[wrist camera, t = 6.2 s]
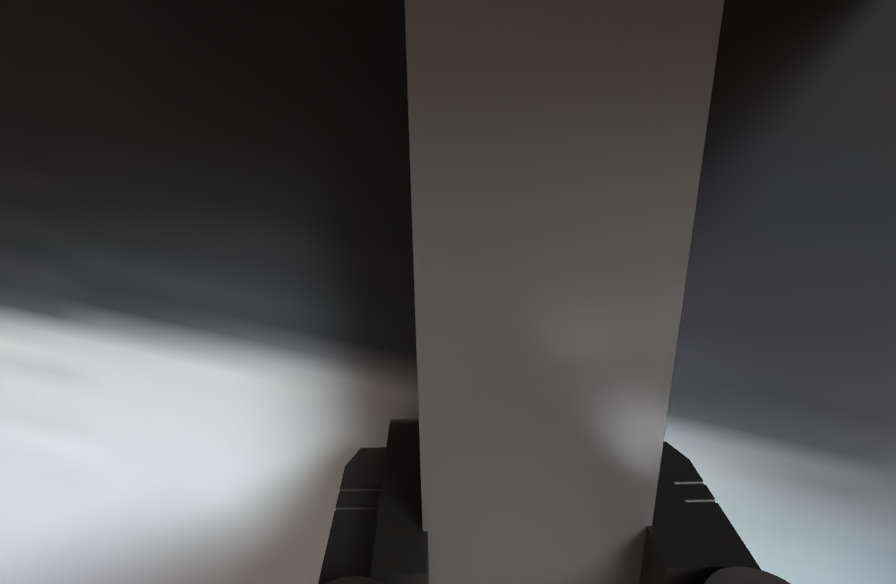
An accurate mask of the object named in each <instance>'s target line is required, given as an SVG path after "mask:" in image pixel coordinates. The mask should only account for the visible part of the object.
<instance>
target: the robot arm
mask: <svg viewBox="0 0 896 584" xmlns="http://www.w3.org/2000/svg"><path fill="white" fill-rule="evenodd" d="M318 584H429V553H428V531H423V525H422V496H421V467H420V437H419V419H391V420H390V425H389V433H388V441H387V447H383V448H361V449H360V450H359V451H358V452H357V453H356V454H355V456H354V457H353V458H352V459H351V460H350V461H349V463H348V464H347V465H346V466H345V469H344V473H343V478H342V482H341V487H340V493H339V495H338V500H337V504H336V511H335V513H334V517H333V522H332V526H331V530H330V535H329V539H328V543H327V548H326V552H325V556H324V561H323V565H322V570H321V574H320V578H319V583H318ZM639 584H790V583H788V582H787V581H785V580H783V579H781V578H779V577H777V576H775V575H773V574H770V573H768V572H765V571H762V570H761V569H760V567H759V566H758V564H757V563H756V561H755V560H754V558H753V557H752V555H751V554H750V552H749V550H748V549H747V547H746V546H745V544H744V543H743V541H742V540H741V538H740V537H739V535H738V534H737V532H736V531H735V529H734V527H733V526H732V524H731V523H730V521H729V520H728V518H727V517H726V515H725V514H724V512H723V511H722V509H721V507H720V506H719V504H718V503H715V498H714V497H713V495H712V494H711V492H710V491H709V489H708V487H707V486H706V485H704V484H703V480H702V478H701V477H700V475H699V474H698V472H697V471H696V469H695V468H694V466H693V464H692V463H691V461H690V460H689V459H688V458H687V457H685V456H684V455H683V454H681V453H680V452H679V451H677V450H676V449H675V448H674V447H672V446H671V445H670V444H668V443H667V442H663V449H662V456H661V463H660V471H659V478H658V485H657V492H656V500H655V507H654V514H653V521H652V526H647V529H646V536H645V544H644V551H643V559H642V566H641V574H640V581H639Z"/></svg>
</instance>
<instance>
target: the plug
mask: <svg viewBox="0 0 896 584" xmlns="http://www.w3.org/2000/svg"><path fill="white" fill-rule="evenodd" d="M723 7H724V0H405V30H406V59H407V88H408V117H409V146H410V175H411V204H412V234H413V263H414V292H415V321H416V350H417V379H418V408H419V437H420V467H421V496H422V525H423V531H428V553H429V584H639V581H640V574H641V566H642V559H643V551H644V544H645V536H646V529H647V526H652V521H653V514H654V507H655V500H656V492H657V485H658V478H659V471H660V463H661V456H662V449H663V442H664V434H665V427H666V420H667V413H668V405H669V398H670V391H671V384H672V376H673V369H674V362H675V355H676V347H677V340H678V333H679V326H680V318H681V311H682V304H683V297H684V289H685V282H686V275H687V268H688V260H689V253H690V246H691V239H692V231H693V224H694V217H695V210H696V202H697V195H698V188H699V181H700V173H701V166H702V159H703V152H704V144H705V137H706V130H707V123H708V115H709V108H710V101H711V94H712V86H713V79H714V72H715V65H716V57H717V50H718V43H719V36H720V28H721V21H722V14H723Z"/></svg>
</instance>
